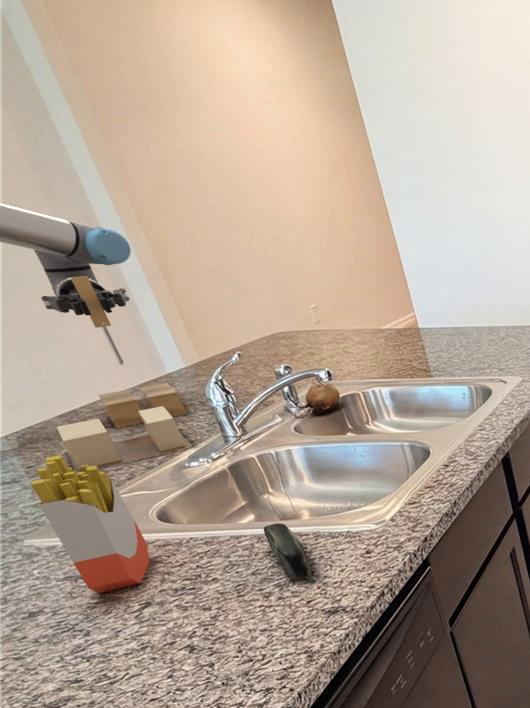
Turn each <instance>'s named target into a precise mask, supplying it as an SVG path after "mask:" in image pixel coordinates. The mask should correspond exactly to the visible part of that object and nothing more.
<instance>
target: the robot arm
mask: <svg viewBox="0 0 530 708" xmlns="http://www.w3.org/2000/svg"><path fill="white" fill-rule="evenodd" d="M0 243H2V244H3V243H4V244H6V245H7V244H8V245H11V246H16V247H22V248H26V249H30V250H33V252H34V253H35V255H36V257H37V258H38V260H39V262H40V264H41V266H42V268H43V271H44V273H45V275H46V277H47V279H48V281H49V283H50V285H51V289H52V291H53V293H54V295H51V296H49V295H43V296H41V297H40V298H41V301H42V302H43V304H44V306H45V308H46V310H54V311H56V312H59V313H64V314H68V313H70V310H71V311H74V314H75V316H83V315H85V316H89V315H91V313H90V311H89V309H88V307H87V305H86V303H85V301H84V300H83V299H82V298H80V296H79V294H78V292H77V290H76V288H75V286H74V284H73V282H72V280H71V278H72V277H84V276H87V277H88V279H89V281H90V283H91V285H92V287H93V289H94V291H95V293H96V295H97V297H98V299H99V301H100V303H101V306H102V308H103V310H104V311H105V313H106V314H112V313H113V311H112V309H114V308H115V307H117V306H118V307H121V308H123V307H125V306H127V302H129V301H130V300H131V299H130V297H129V294H128V293H127V290H126V288H118V289H113V290H112V291H111V290H106V289H105V288H104V287H103V286H101V285H100V284H99V282H98V279H97V278H96V276H95V275H96V274H95V273H94V271H93V268H92V266H91V265H104V266H112V265H120V264H123V263H124V262H126V261H127V260H128V259H129V258H130V256H131V252H132V251H131V246H130V243H129V242H128V240H127V238H125V236H123V235H122V234H120V233H119V232H118V231H116V230H113V229H110V228H104V227H99V226H97V227H91V226H87V225H84V224H80V223H77V222H71V221H69V220H68V219H66V218H65V217H53V216H50V215H45V214H42V213H38V212H35V211H30V210H27V209H22V208H20V207H16V206H13V205H9V204H5V203H1V202H0Z"/></svg>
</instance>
